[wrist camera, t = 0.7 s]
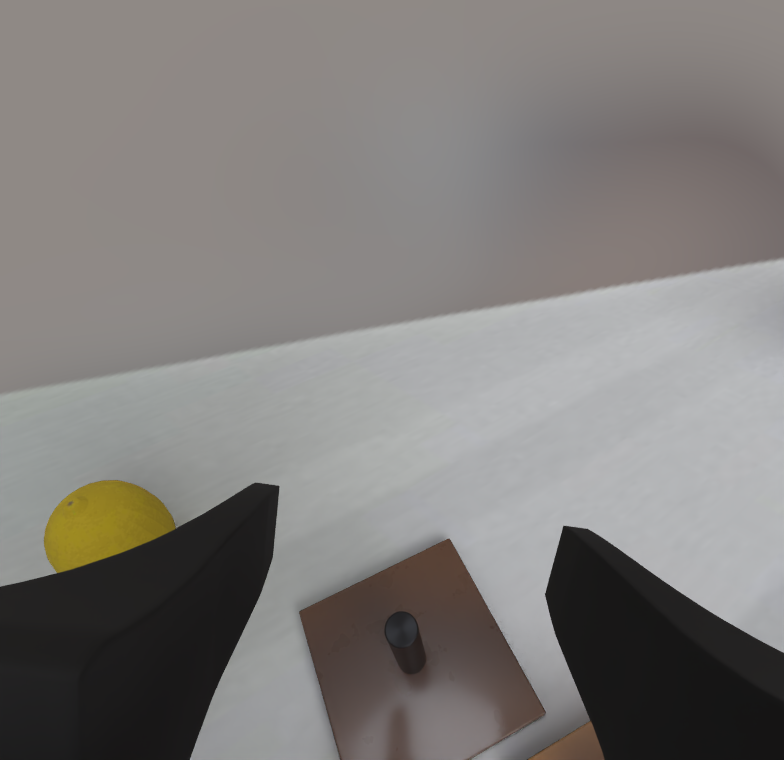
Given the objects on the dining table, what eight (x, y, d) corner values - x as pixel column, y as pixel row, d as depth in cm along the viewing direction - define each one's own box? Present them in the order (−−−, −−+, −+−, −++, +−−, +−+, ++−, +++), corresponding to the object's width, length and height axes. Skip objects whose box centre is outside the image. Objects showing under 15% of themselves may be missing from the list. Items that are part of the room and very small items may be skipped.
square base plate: (545, 715, 21) (563, 692, 17) (361, 824, 20) (333, 827, 16) (449, 541, 27) (446, 495, 23) (301, 614, 26) (270, 577, 22)
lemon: (187, 508, 31) (121, 436, 25) (208, 582, 27) (137, 520, 21) (100, 553, 29) (8, 488, 24) (110, 637, 26) (6, 586, 20)
